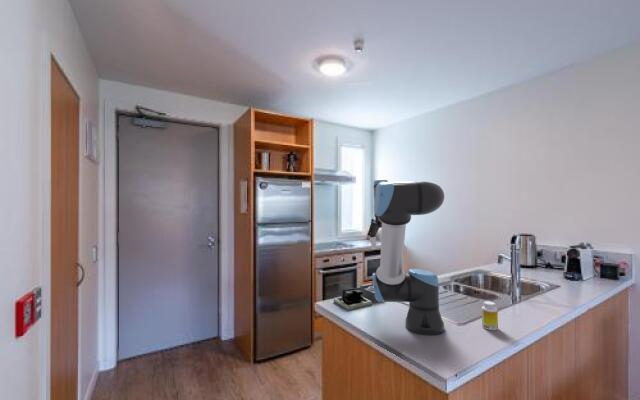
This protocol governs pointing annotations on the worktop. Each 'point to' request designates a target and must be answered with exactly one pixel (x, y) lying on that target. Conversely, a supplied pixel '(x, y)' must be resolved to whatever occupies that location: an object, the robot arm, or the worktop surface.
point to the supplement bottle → (489, 316)
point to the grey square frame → (354, 306)
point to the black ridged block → (352, 296)
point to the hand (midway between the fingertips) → (382, 250)
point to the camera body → (368, 292)
